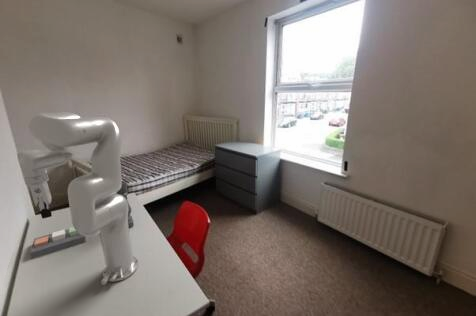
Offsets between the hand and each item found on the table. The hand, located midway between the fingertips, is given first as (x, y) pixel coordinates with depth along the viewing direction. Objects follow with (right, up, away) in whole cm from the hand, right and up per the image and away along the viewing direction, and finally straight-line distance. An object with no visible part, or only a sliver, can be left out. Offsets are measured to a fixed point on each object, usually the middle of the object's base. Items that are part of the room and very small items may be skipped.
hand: (47, 216), depth 96 cm
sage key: (+7, -11, +8) cm, 15 cm away
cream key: (+2, -12, +5) cm, 13 cm away
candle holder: (+27, -10, +18) cm, 34 cm away
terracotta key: (-3, -14, +2) cm, 15 cm away
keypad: (+2, -14, +5) cm, 15 cm away
